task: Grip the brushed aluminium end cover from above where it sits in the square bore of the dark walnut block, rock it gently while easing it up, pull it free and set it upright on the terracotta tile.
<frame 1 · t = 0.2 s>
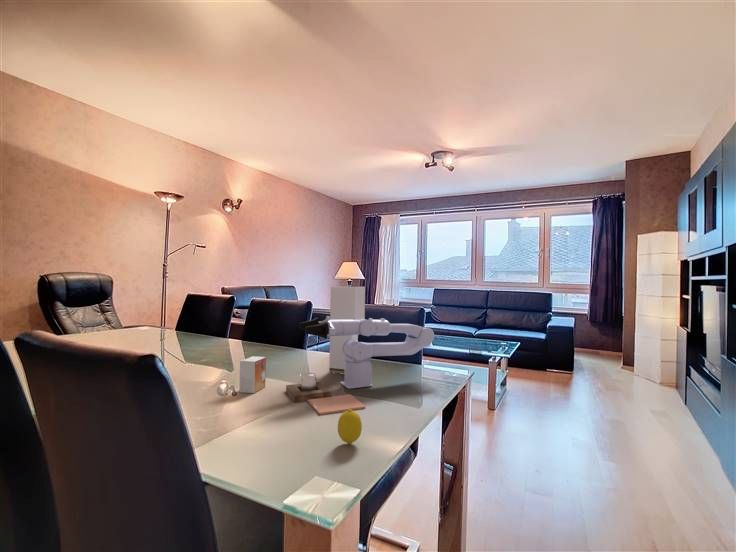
hand: (302, 328, 122), 21 cm above the table, tool horizontal, fingers open, 7 cm apart
lemon: (349, 445, 83), on the table
bore block: (308, 394, 119), on the table
white tall column: (346, 371, 151), on the table
tile: (336, 404, 109), on the table
small box: (252, 390, 123), on the table
end cover: (308, 384, 119), in the bore block
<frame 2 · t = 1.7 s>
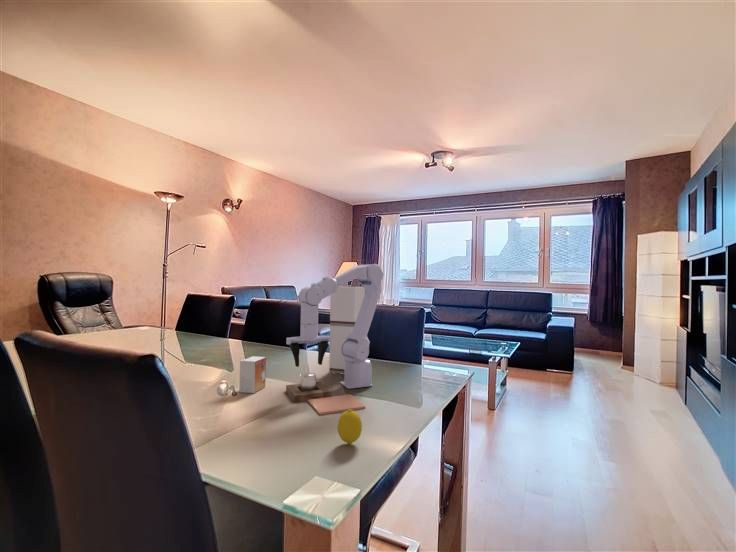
hand: (308, 365, 119), 10 cm above the table, tool pointing down, fingers open, 7 cm apart
nothing on the table moved.
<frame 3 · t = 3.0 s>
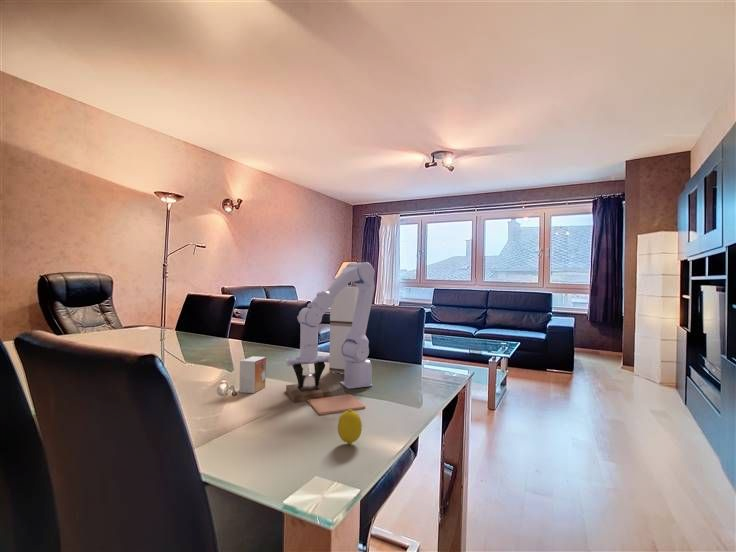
hand: (308, 386, 119), 3 cm above the table, tool pointing down, fingers closed on end cover, 5 cm apart
end cover: (308, 384, 119), in the bore block, touching gripper
everything else where it was.
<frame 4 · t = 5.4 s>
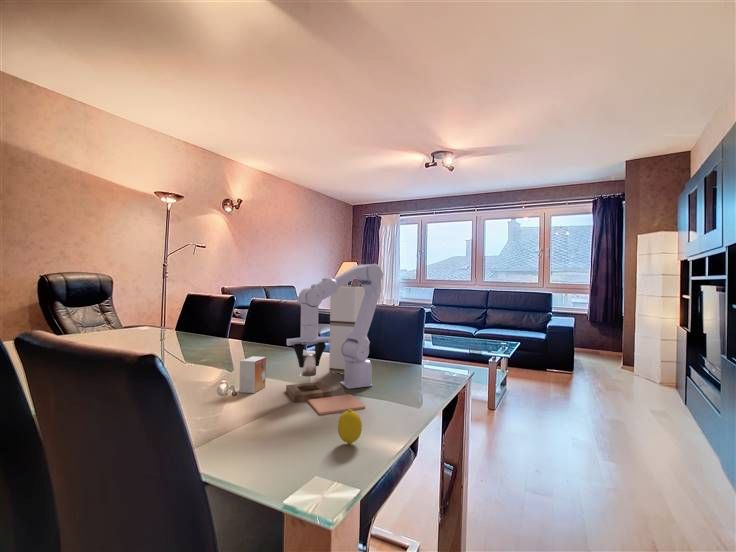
hand: (308, 366, 119), 9 cm above the table, tool pointing down, fingers closed on end cover, 5 cm apart
end cover: (308, 364, 119), point 10 cm above the table, touching gripper
everything else where it was.
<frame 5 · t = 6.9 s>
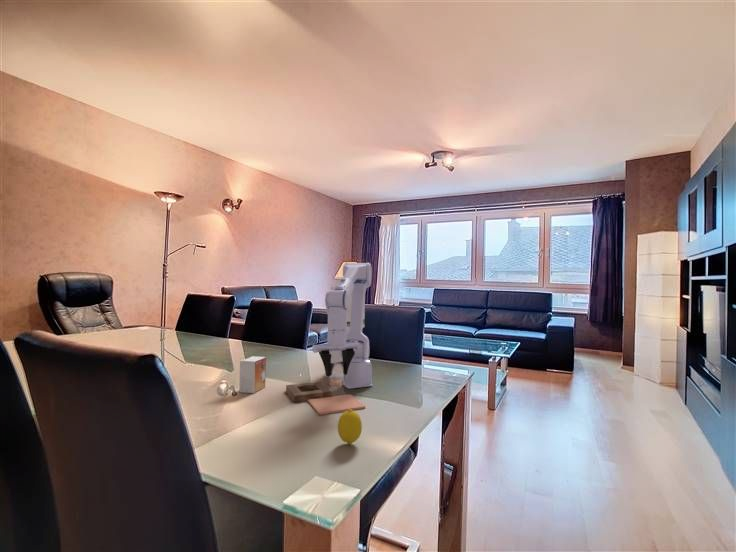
hand: (336, 374, 110), 9 cm above the table, tool pointing down, fingers closed on end cover, 5 cm apart
end cover: (336, 373, 110), point 10 cm above the table, touching gripper
everything else where it was.
when the fingers open (5 cm above the table, at t = 8.1 s): end cover drops 1 cm, resting on tile.
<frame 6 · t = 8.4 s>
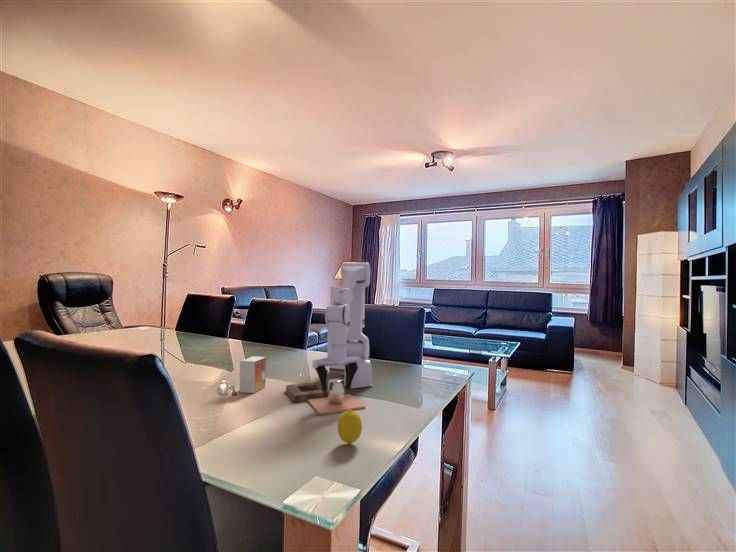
hand: (336, 389, 110), 5 cm above the table, tool pointing down, fingers open, 7 cm apart
end cover: (336, 391, 110), on the tile, point 4 cm above the table
everything else where it was.
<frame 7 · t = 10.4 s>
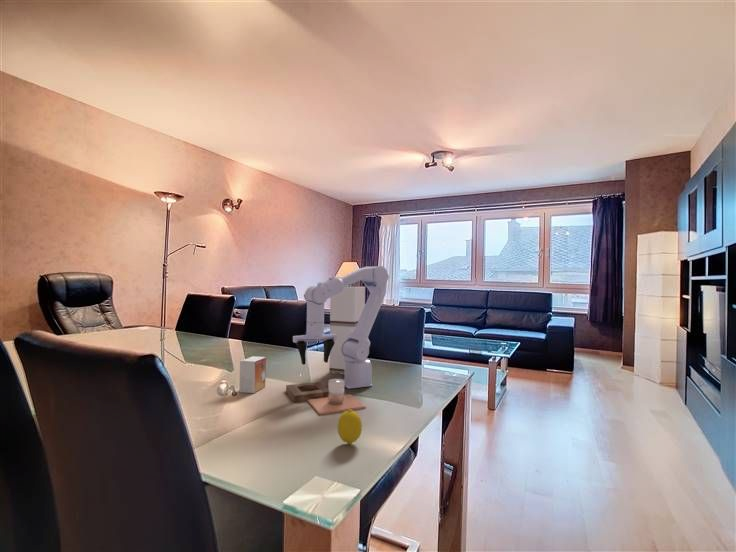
hand: (314, 363, 121), 10 cm above the table, tool pointing down, fingers open, 7 cm apart
nothing on the table moved.
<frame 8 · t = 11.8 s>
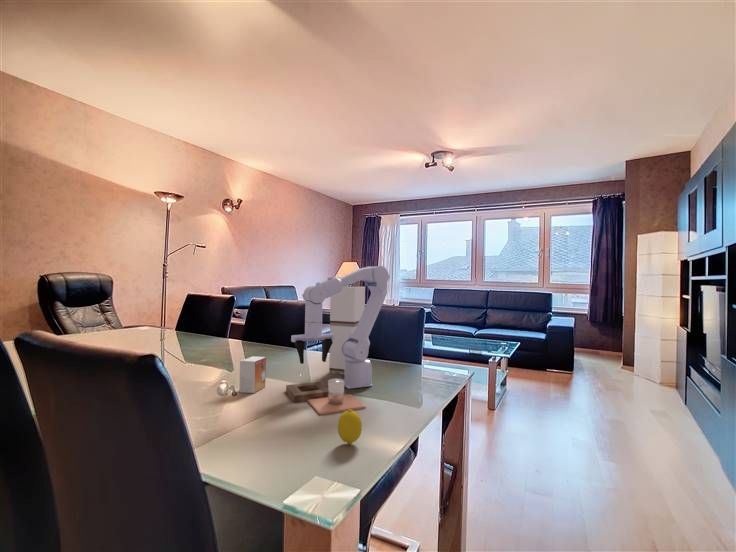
hand: (312, 362, 122), 10 cm above the table, tool pointing down, fingers open, 7 cm apart
nothing on the table moved.
at the end: end cover inside the target area on the tile (0.3 cm from its centre), point 3.9 cm above the tile's base; end cover tilted 2°; the gripper is holding nothing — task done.
